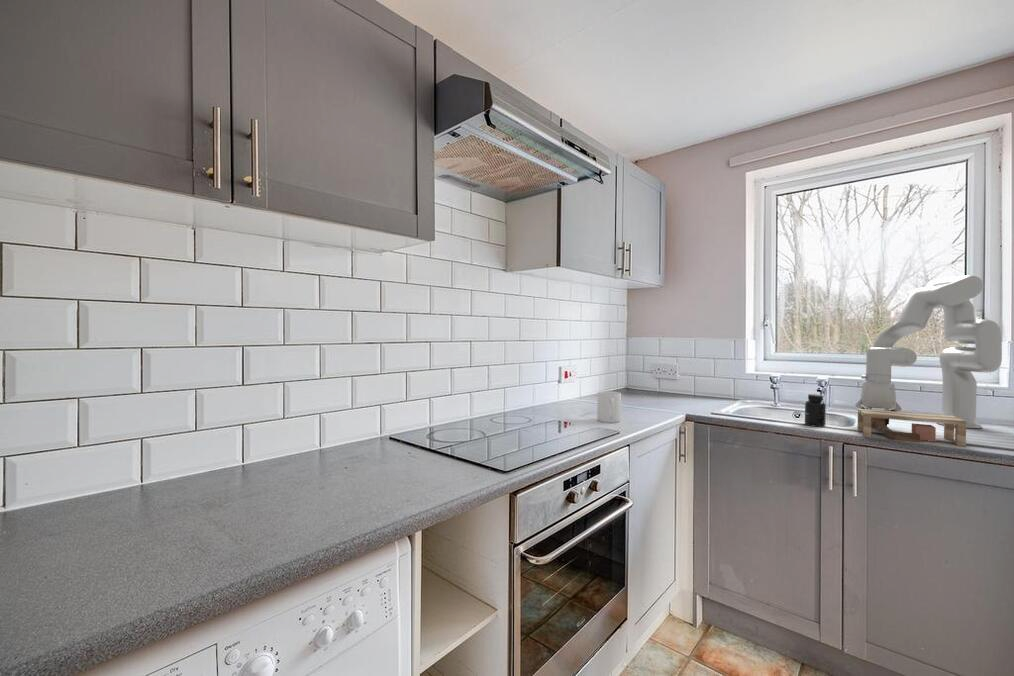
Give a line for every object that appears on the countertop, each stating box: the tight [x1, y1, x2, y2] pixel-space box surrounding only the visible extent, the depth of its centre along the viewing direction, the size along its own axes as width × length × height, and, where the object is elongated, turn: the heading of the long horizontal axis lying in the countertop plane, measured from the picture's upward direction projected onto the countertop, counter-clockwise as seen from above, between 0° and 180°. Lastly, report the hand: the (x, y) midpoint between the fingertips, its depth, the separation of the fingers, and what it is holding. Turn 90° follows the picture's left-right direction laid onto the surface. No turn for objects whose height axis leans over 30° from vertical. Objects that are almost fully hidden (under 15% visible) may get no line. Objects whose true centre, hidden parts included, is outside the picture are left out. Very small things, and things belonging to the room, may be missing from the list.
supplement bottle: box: [804, 393, 827, 427], centre depth 174 cm, size 7×7×12 cm
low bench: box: [857, 408, 967, 447], centre depth 153 cm, size 12×26×8 cm, turn 60°
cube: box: [911, 422, 937, 442], centre depth 151 cm, size 5×5×5 cm
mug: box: [596, 390, 622, 424], centre depth 178 cm, size 10×12×12 cm
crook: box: [871, 417, 921, 443], centre depth 160 cm, size 26×9×6 cm, turn 149°
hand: (877, 424), depth 171 cm, fingers closed on crook, 4 cm apart
